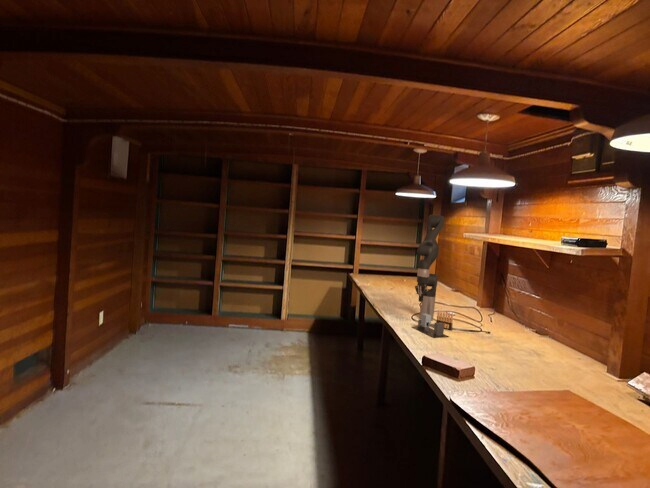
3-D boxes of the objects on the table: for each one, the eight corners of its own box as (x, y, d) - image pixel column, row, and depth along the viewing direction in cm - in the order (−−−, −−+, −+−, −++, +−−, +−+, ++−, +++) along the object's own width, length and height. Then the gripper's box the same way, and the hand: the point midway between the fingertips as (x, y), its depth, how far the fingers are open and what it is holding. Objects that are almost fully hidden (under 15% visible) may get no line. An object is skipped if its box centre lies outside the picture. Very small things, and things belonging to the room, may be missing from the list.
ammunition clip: (452, 330, 265) (454, 312, 264) (451, 330, 263) (453, 312, 262) (436, 326, 270) (438, 309, 270) (435, 327, 269) (437, 309, 268)
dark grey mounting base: (411, 327, 263) (412, 315, 263) (426, 326, 268) (427, 315, 268) (433, 337, 242) (434, 324, 242) (449, 337, 247) (450, 324, 246)
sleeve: (420, 325, 261) (421, 313, 261) (425, 324, 263) (426, 313, 262) (425, 327, 256) (426, 315, 256) (430, 327, 258) (431, 315, 258)
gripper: (412, 273, 269) (409, 299, 270) (424, 277, 257) (421, 303, 258) (421, 274, 272) (419, 299, 273) (434, 277, 260) (431, 303, 261)
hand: (420, 301), depth 266 cm, fingers closed
